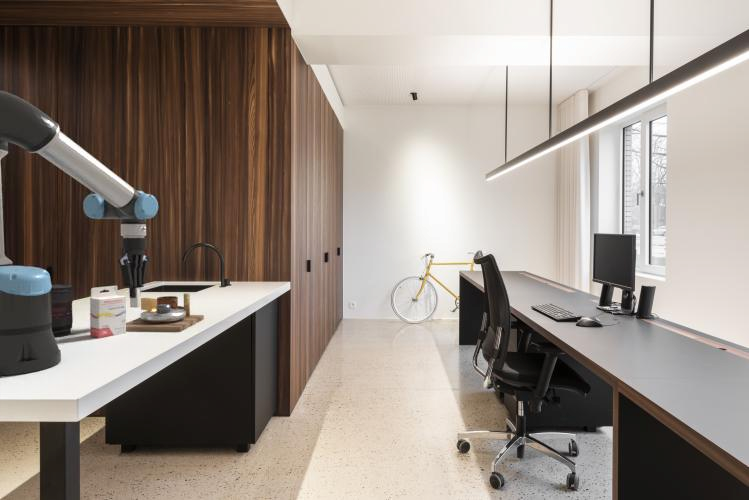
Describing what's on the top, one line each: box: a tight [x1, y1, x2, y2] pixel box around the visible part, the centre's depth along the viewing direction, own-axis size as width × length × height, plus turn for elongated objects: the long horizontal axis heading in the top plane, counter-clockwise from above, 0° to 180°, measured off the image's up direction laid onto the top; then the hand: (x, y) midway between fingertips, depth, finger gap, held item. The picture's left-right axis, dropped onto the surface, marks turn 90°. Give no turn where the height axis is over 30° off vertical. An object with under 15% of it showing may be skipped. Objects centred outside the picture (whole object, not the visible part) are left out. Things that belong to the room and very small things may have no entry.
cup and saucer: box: [156, 295, 184, 310], centre depth 176 cm, size 12×12×6 cm
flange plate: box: [140, 297, 186, 322], centre depth 156 cm, size 18×14×6 cm
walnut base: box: [126, 292, 205, 333], centre depth 155 cm, size 20×20×10 cm
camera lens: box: [51, 284, 74, 338], centre depth 139 cm, size 8×8×15 cm
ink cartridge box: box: [89, 285, 127, 339], centre depth 140 cm, size 9×5×15 cm, turn 150°
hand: (135, 307), depth 153 cm, fingers closed
